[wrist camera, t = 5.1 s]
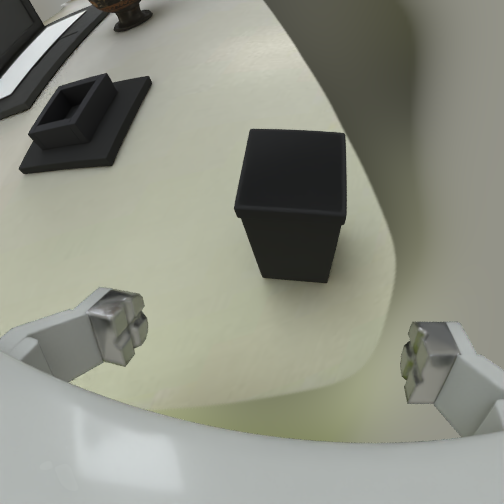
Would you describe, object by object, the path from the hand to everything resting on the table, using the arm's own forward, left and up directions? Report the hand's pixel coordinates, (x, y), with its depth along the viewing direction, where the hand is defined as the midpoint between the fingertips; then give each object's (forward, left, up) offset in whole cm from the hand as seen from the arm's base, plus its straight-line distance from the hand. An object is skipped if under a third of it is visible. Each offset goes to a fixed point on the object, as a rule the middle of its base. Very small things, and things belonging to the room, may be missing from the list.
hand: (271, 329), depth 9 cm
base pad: (+31, -5, -11) cm, 33 cm away
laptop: (+69, -12, -11) cm, 71 cm away
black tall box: (+3, -6, -11) cm, 13 cm away
